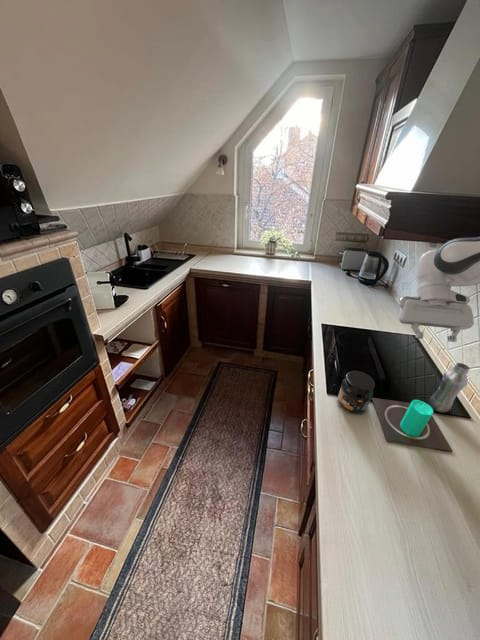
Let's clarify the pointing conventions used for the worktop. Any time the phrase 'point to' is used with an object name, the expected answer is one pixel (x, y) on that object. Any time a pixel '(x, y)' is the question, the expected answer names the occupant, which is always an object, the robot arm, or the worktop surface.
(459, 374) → the plastic bottle
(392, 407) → the brown square pad
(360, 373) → the supplement container
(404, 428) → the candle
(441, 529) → the worktop surface
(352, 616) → the worktop surface
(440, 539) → the worktop surface
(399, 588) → the worktop surface
